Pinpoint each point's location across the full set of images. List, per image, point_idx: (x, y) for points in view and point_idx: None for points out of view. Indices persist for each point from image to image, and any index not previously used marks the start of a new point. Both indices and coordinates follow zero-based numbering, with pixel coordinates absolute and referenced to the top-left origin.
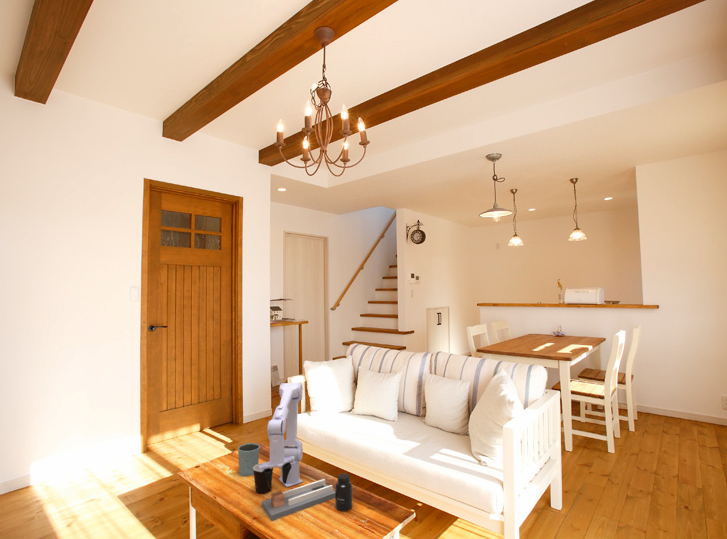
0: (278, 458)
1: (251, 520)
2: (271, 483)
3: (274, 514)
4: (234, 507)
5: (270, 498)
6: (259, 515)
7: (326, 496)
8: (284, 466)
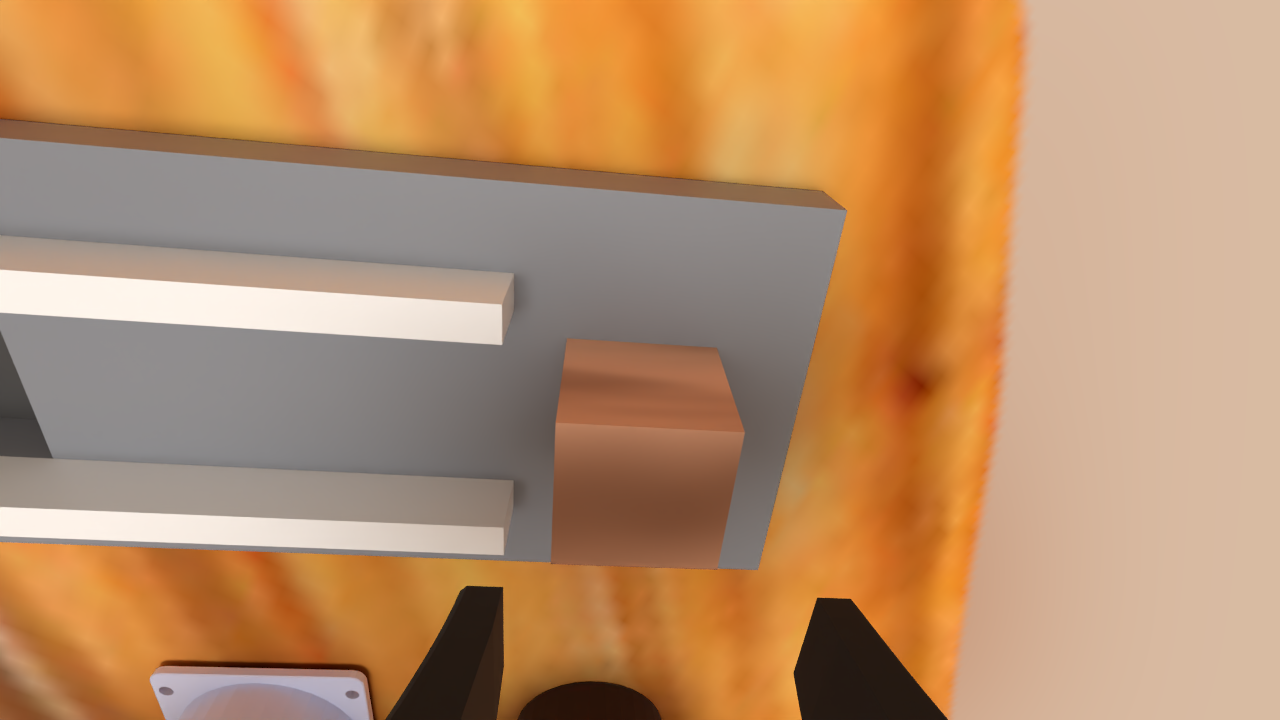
0: None
1: (975, 365)
2: (879, 689)
3: (803, 205)
4: (936, 643)
5: None
6: (855, 397)
7: None
8: None
